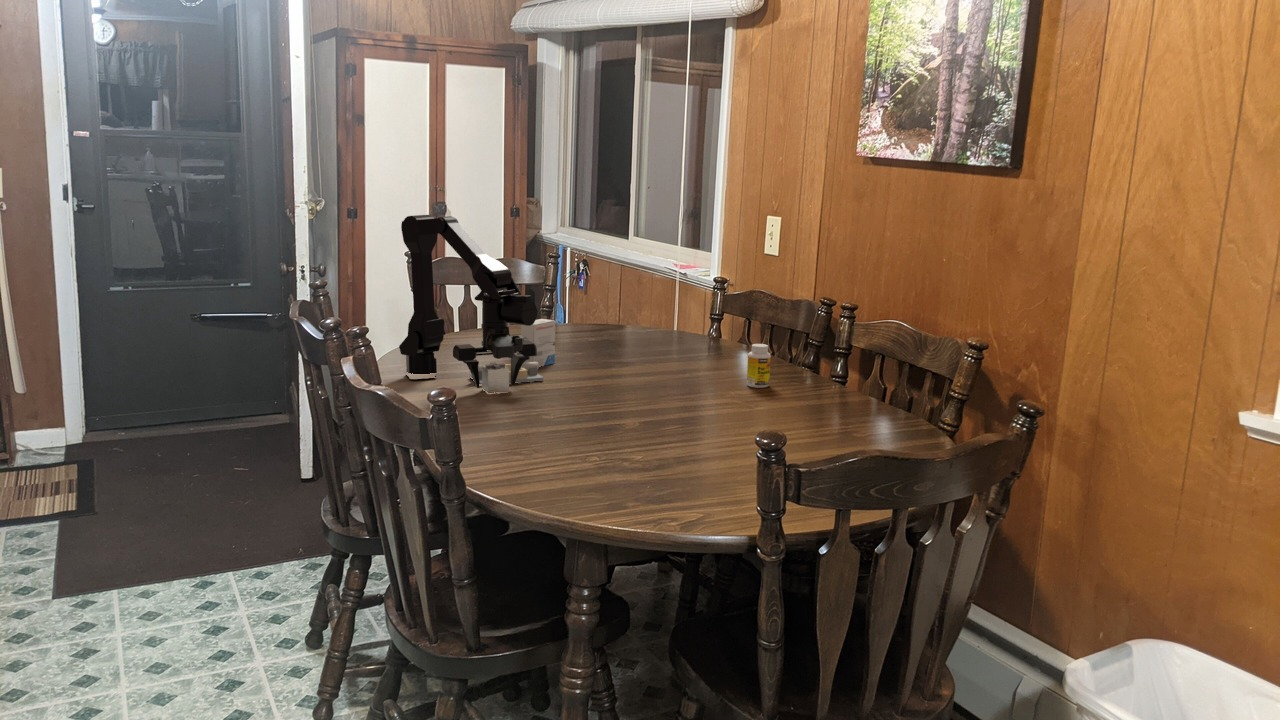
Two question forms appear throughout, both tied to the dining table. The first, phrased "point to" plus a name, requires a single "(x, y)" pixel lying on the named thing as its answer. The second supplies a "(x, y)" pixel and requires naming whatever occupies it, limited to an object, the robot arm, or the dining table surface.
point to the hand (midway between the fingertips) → (495, 386)
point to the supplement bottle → (758, 366)
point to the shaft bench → (520, 372)
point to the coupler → (495, 378)
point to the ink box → (541, 340)
